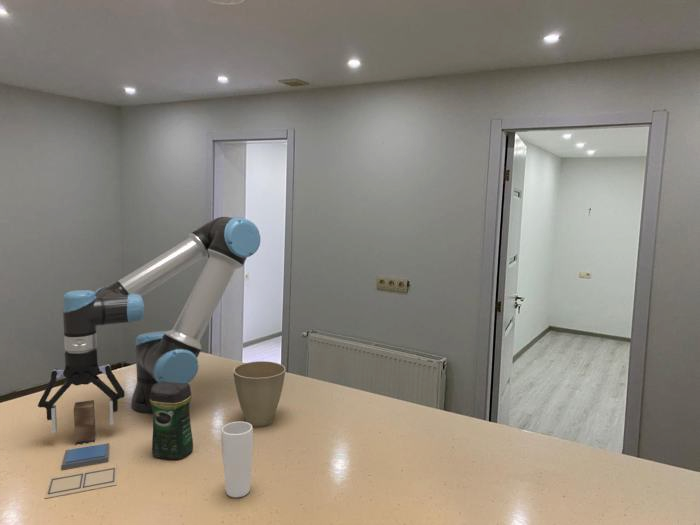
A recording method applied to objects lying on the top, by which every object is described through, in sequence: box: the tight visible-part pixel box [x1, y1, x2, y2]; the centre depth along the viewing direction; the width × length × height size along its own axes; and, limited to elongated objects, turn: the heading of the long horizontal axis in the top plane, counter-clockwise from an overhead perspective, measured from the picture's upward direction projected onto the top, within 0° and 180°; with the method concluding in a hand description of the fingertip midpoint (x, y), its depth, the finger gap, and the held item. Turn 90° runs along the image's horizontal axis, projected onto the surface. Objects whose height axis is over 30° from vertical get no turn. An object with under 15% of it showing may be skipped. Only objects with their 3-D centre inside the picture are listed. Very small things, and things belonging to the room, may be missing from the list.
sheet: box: [44, 465, 118, 500], centre depth 116 cm, size 14×9×1 cm, turn 113°
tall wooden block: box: [73, 399, 97, 446], centre depth 136 cm, size 4×4×10 cm
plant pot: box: [232, 360, 286, 428], centre depth 148 cm, size 15×15×16 cm
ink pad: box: [61, 442, 111, 471], centre depth 127 cm, size 10×8×2 cm
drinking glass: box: [221, 421, 254, 498], centre depth 112 cm, size 7×7×15 cm
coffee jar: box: [150, 381, 194, 460], centre depth 129 cm, size 10×8×19 cm
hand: (83, 427), depth 136 cm, fingers open, 13 cm apart
